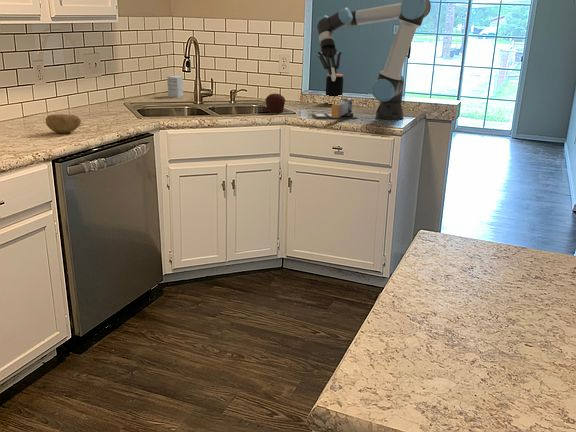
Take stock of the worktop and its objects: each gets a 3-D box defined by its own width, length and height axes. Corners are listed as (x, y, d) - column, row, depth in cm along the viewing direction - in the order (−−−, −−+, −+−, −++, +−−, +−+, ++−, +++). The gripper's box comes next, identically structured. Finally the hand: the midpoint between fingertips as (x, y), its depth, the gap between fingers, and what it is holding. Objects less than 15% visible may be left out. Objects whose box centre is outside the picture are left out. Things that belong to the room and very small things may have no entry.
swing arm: (344, 111, 316) (344, 98, 314) (352, 112, 315) (353, 98, 312) (329, 116, 296) (330, 102, 294) (339, 117, 294) (340, 103, 292)
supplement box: (173, 95, 374) (172, 75, 370) (183, 96, 372) (182, 76, 368) (167, 96, 367) (166, 76, 363) (177, 97, 365) (177, 77, 361)
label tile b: (323, 115, 316) (323, 113, 316) (327, 118, 307) (327, 116, 307) (312, 115, 315) (312, 113, 315) (316, 118, 306) (316, 116, 306)
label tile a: (335, 115, 318) (335, 113, 317) (340, 119, 309) (340, 116, 308) (324, 115, 317) (324, 113, 316) (329, 118, 307) (329, 116, 307)
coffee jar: (341, 102, 370) (343, 74, 364) (341, 105, 360) (343, 75, 354) (325, 102, 371) (326, 73, 365) (324, 104, 361) (326, 74, 355)
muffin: (289, 112, 324) (290, 94, 321) (275, 114, 316) (276, 95, 313) (274, 109, 331) (274, 92, 328) (260, 111, 324) (260, 93, 320)
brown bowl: (82, 134, 246) (81, 115, 244) (47, 135, 241) (45, 116, 238) (80, 130, 255) (79, 111, 252) (46, 131, 249) (44, 112, 247)
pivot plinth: (352, 116, 319) (352, 111, 318) (357, 118, 311) (357, 114, 310) (336, 116, 317) (336, 111, 317) (341, 118, 309) (341, 113, 308)
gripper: (337, 47, 307) (344, 84, 298) (313, 47, 305) (320, 84, 295) (340, 37, 301) (348, 75, 291) (316, 37, 298) (323, 74, 289)
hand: (334, 79), depth 293 cm, fingers closed
